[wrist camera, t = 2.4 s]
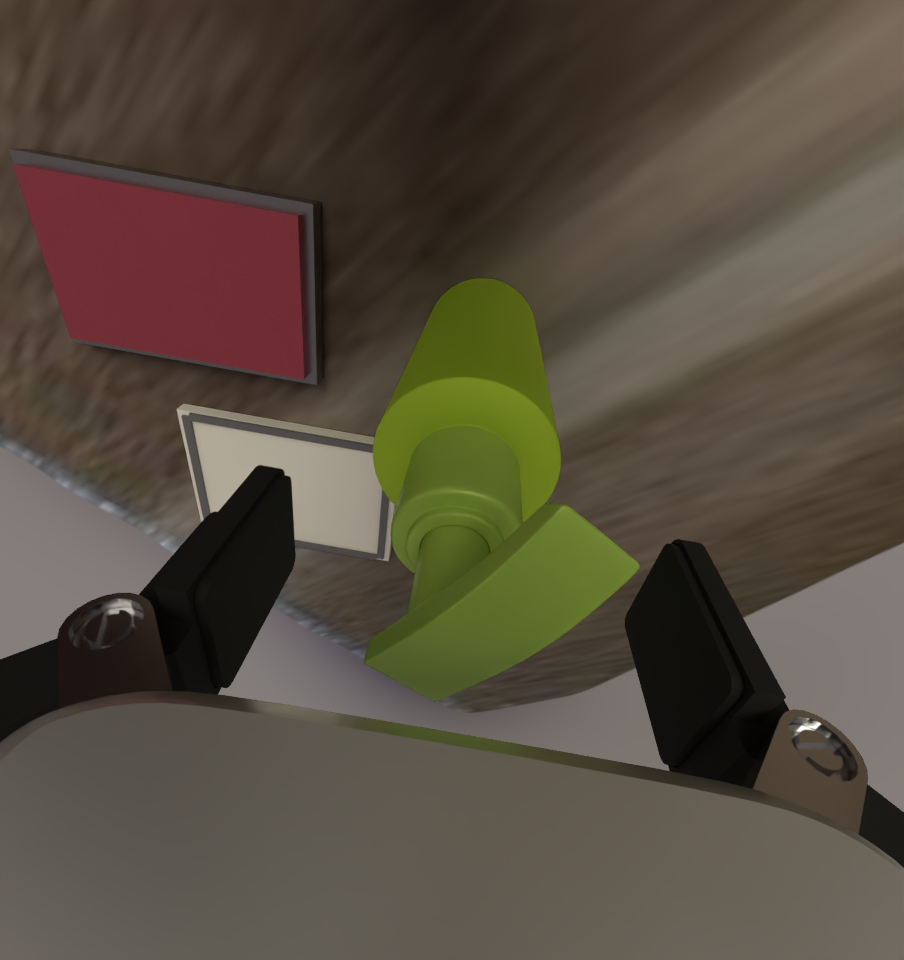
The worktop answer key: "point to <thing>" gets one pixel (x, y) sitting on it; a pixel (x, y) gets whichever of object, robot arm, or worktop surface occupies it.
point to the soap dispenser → (481, 501)
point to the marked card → (293, 476)
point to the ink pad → (180, 265)
